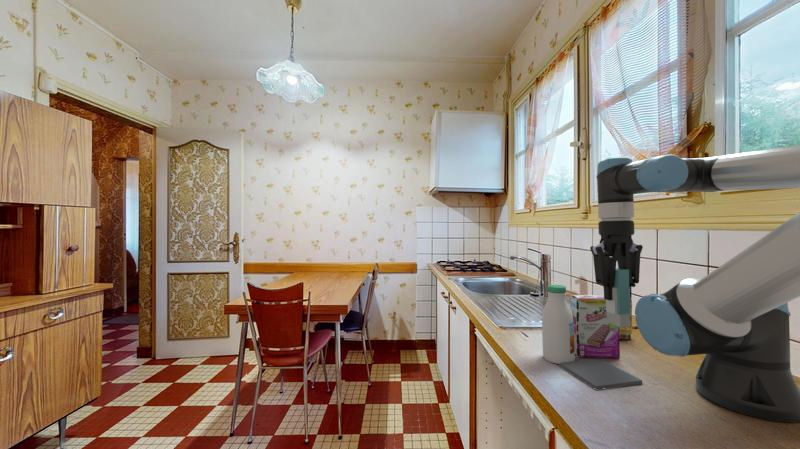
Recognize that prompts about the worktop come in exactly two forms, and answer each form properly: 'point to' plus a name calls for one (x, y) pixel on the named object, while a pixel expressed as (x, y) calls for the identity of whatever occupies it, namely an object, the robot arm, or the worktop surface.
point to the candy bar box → (593, 328)
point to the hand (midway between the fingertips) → (618, 311)
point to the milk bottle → (557, 327)
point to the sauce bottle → (627, 327)
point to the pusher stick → (621, 299)
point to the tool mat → (600, 374)
